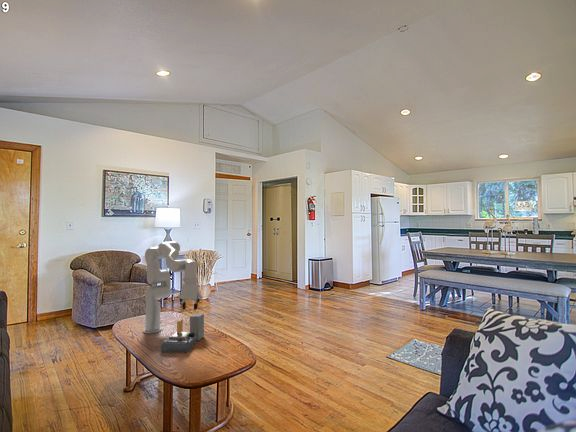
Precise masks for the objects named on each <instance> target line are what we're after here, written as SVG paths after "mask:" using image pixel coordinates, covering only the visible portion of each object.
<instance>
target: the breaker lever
mask: <svg viewBox="0 0 576 432" xmlns="http://www.w3.org/2000/svg"><path fill="white" fill-rule="evenodd" d="M183 321H184V319H183V318H179V319H177V320H176V332H177V335H179V334H180V333H181V332H183V326H184V325H183V324H184V322H183Z"/></svg>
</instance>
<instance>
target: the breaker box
mask: <svg viewBox="0 0 576 432" xmlns="http://www.w3.org/2000/svg"><path fill="white" fill-rule="evenodd" d="M196 343H197V341H196V333H192V332H190V331H182V332H181V333H180V334H179V335H177V331H172V332H171V333H170V335H169V336H168V337H167V338H163V340H162V341H161V343H160V353H175V354H176V353H177V354H178V353H179V354H183V353H184V354H188V353H189V352H190V351H191V349H192V348H193V347H194V345H196Z"/></svg>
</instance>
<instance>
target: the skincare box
mask: <svg viewBox="0 0 576 432" xmlns="http://www.w3.org/2000/svg"><path fill="white" fill-rule="evenodd" d="M189 332H192V333H196V342H197V341H198V342H199V341H200V340H201V339H203V338H205V337H204V336H205V314H204V313H194V314H192V315H190V316H189Z"/></svg>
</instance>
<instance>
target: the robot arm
mask: <svg viewBox="0 0 576 432" xmlns="http://www.w3.org/2000/svg"><path fill="white" fill-rule="evenodd" d="M180 251H181V245H180V244H179V242H177V241H163V242H161V243H159V244H158V246H154V247H148V248H147V249H145V253H144V261H145V264H146V279H147V280H146V281H147V283H148V284H149V285H151V286H149V287H147V288H146V289H145V290H144V297H145V322H144V323H145V325H144V326H145V327H144V328H143V329H142V333H143V334H157V333H159V332H161V331H162V330H163V327H162V326H161V324H162V320H161V303H160V302H159V301H158V300H159V299H165V298H167V297H170V296H171V288H172V287H171V283H172V282H171V274H170V271H171V272H173V273H181V272H182V273H183V272H184V273H183V274H184V277H183V278H182V279H181V281H182V282H183V283H182V284H181V290H180V293H179V295H178V296H177V300H179V302H181V304H182V305H181V306H182V307H181V309H182V310H183V311H185V310H186V308H187V307H186V306H187V302H186V300H190V301H193V302H194V304H193V310H194V311H196V310H197V309H198V303H200V301H201V300H202V299H203V296H202V295H201V293H200V290H199V282H198V280H197V279H198V262H197V261H196V260H192V259H189V258H187V259H179V256H180V253H179V252H180ZM158 259H161V260H162V259H165V265H166V267H167V269H168V270H167V269H161V268H160V266H161V265H160V262H159V260H158ZM169 270H170V271H169ZM157 284H159V285H157ZM152 285H153V286H152Z"/></svg>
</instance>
